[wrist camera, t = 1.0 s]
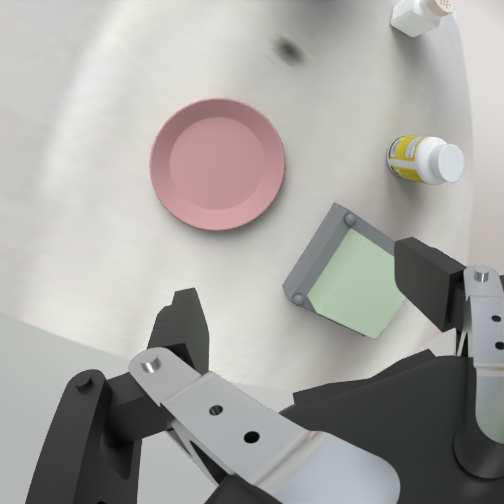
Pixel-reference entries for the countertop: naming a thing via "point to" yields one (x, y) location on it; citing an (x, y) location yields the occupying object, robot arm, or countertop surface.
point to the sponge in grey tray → (347, 274)
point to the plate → (217, 164)
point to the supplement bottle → (425, 159)
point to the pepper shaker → (420, 15)
